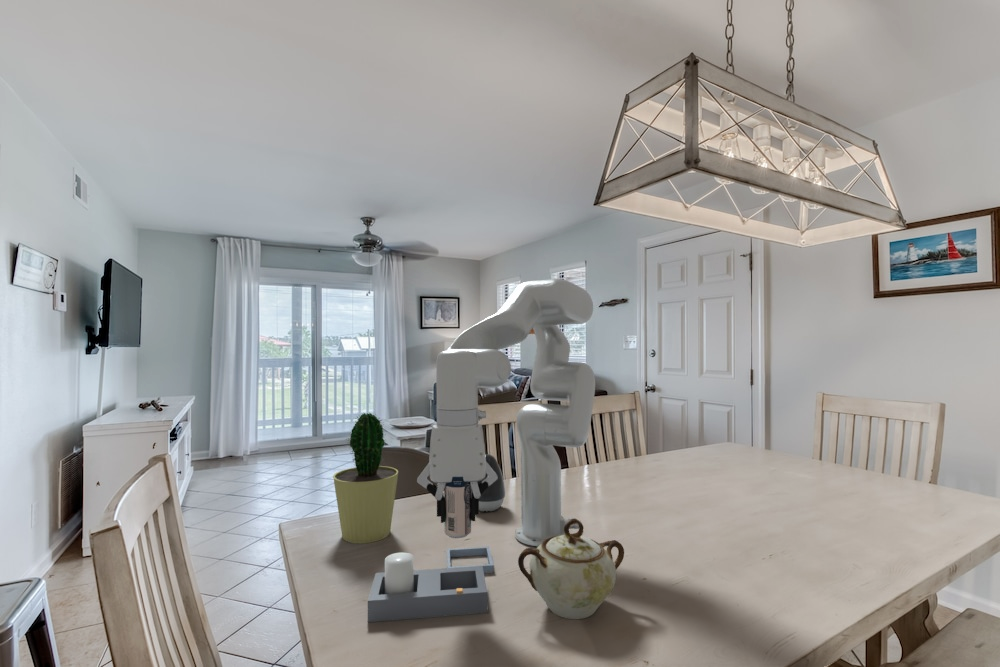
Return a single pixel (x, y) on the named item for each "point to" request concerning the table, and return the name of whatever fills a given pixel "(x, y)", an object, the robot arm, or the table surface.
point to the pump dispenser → (492, 488)
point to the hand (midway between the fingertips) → (457, 518)
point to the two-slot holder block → (425, 591)
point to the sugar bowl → (572, 572)
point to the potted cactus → (366, 486)
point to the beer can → (457, 507)
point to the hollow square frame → (472, 552)
